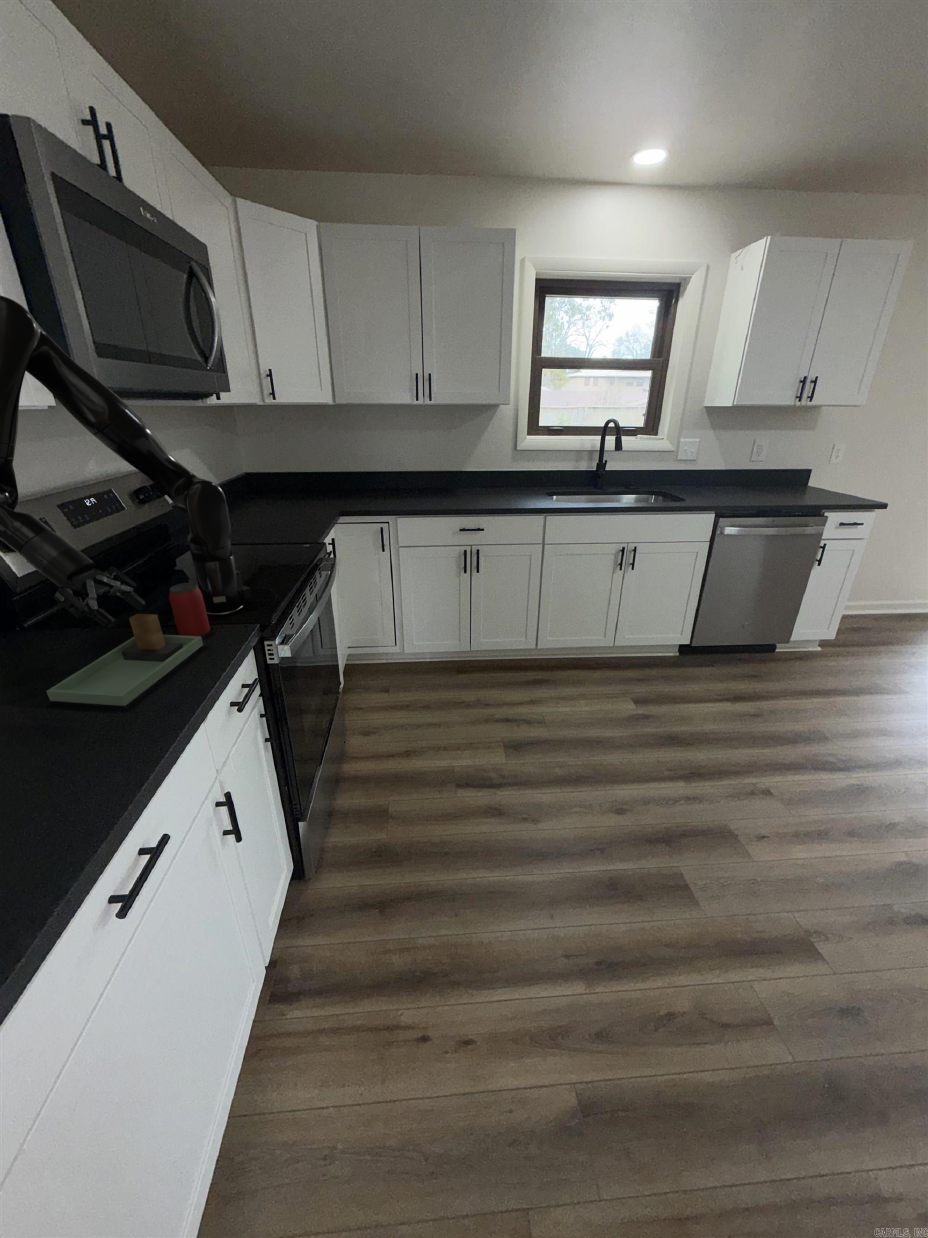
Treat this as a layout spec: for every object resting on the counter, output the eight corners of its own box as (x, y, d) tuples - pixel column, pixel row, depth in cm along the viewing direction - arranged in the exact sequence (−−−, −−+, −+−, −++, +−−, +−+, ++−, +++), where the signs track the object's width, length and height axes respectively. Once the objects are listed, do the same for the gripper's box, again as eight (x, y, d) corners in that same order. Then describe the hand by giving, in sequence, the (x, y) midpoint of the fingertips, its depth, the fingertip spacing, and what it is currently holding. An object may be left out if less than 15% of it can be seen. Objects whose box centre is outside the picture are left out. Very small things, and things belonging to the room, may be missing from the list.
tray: (142, 645, 111) (139, 633, 109) (204, 648, 109) (201, 636, 108) (51, 705, 89) (45, 691, 88) (126, 710, 88) (121, 696, 87)
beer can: (198, 642, 112) (186, 593, 107) (173, 640, 113) (159, 591, 108) (217, 630, 117) (206, 582, 113) (192, 627, 119) (181, 580, 114)
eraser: (124, 659, 102) (111, 620, 99) (140, 648, 107) (129, 610, 103) (169, 662, 101) (157, 622, 98) (184, 651, 106) (174, 612, 102)
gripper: (33, 558, 89) (110, 619, 93) (95, 537, 102) (160, 591, 106) (17, 584, 92) (93, 642, 96) (80, 561, 105) (144, 613, 109)
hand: (128, 616), depth 101 cm, fingers open, 8 cm apart
